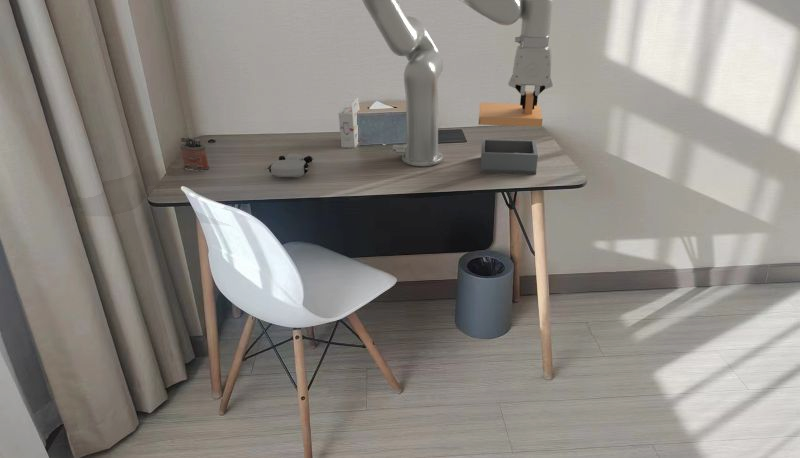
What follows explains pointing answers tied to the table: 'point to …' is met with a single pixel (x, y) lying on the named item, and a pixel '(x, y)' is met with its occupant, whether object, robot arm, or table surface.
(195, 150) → the lighter
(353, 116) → the ink cartridge box
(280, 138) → the table surface
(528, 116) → the lid
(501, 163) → the tub
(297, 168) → the robot toy
